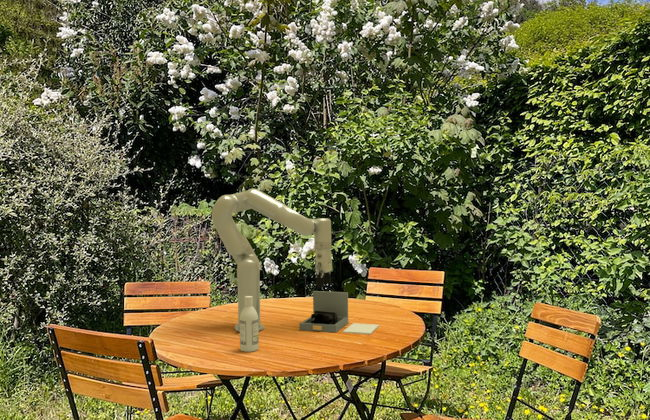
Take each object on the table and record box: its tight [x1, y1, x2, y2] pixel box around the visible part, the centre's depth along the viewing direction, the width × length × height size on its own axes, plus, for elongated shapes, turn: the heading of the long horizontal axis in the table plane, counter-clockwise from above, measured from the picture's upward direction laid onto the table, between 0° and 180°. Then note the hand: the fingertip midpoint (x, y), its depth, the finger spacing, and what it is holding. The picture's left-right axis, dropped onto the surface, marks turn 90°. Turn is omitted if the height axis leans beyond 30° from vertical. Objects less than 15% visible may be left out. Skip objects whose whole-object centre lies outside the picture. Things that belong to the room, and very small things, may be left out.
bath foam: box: [239, 296, 260, 353], centre depth 204 cm, size 7×7×20 cm
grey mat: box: [342, 322, 380, 336], centre depth 234 cm, size 16×12×1 cm
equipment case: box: [299, 290, 349, 333], centre depth 240 cm, size 19×16×14 cm
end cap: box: [310, 311, 338, 325], centre depth 240 cm, size 10×7×7 cm
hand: (323, 285), depth 240 cm, fingers open, 9 cm apart
